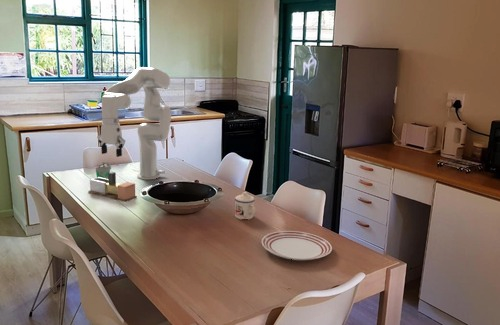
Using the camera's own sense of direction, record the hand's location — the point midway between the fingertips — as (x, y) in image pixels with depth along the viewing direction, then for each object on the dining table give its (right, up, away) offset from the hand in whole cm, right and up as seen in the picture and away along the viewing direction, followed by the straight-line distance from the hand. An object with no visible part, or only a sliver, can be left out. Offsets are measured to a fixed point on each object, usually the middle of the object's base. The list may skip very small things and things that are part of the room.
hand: (111, 154), depth 234 cm
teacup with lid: (+67, -29, -17) cm, 75 cm away
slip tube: (+3, -19, +3) cm, 20 cm away
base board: (-1, -21, +5) cm, 21 cm away
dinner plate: (+87, -39, -50) cm, 107 cm away
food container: (-11, -15, +25) cm, 31 cm away
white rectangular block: (-7, -19, +8) cm, 21 cm away
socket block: (+7, -22, +1) cm, 23 cm away
